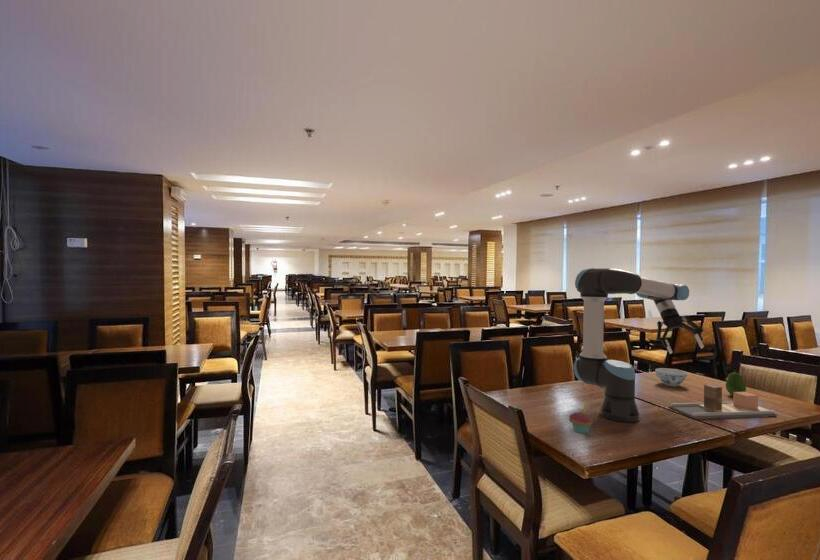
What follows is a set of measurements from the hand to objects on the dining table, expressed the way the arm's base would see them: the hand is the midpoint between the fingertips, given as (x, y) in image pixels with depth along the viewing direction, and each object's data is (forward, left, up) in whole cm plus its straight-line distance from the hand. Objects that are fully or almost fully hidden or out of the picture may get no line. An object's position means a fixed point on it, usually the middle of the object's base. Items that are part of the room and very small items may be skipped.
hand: (686, 350), depth 187 cm
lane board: (+11, -8, -25) cm, 29 cm away
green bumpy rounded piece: (+25, +25, -26) cm, 44 cm away
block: (+22, -2, -24) cm, 32 cm away
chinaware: (-1, +36, -26) cm, 44 cm away
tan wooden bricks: (+17, -5, -24) cm, 30 cm away
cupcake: (-46, -58, -26) cm, 78 cm away
